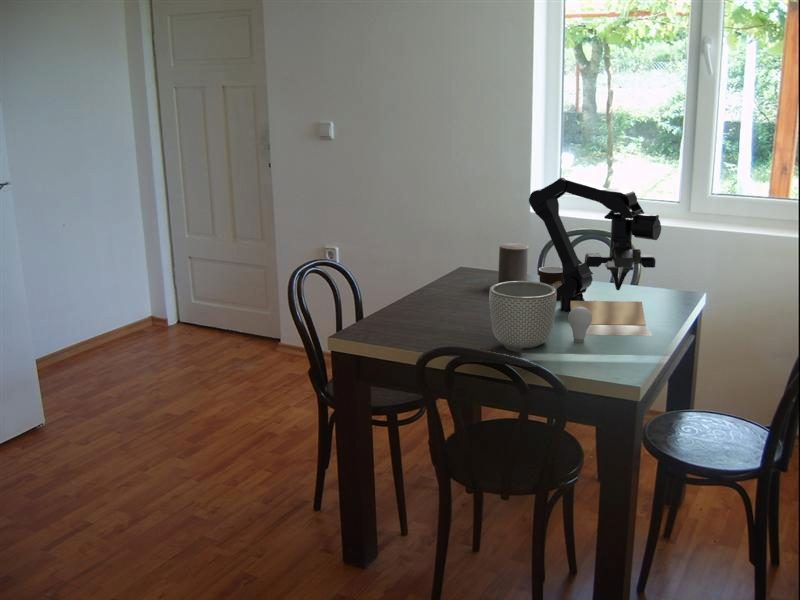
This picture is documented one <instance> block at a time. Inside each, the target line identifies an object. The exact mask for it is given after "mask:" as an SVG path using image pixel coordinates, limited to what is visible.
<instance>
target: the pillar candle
mask: <svg viewBox="0 0 800 600" xmlns="http://www.w3.org/2000/svg"><path fill="white" fill-rule="evenodd" d="M498 253H499V254H498V277H497V279H498V283H502V282H508V281H528V267H529V266H528V265H529V245H526V244H522V243H515V242H514V241H513V242H512V243H502V244H500V245H499V252H498ZM498 283H497V284H498Z"/></svg>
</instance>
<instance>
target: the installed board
mask: <svg viewBox="0 0 800 600" xmlns="http://www.w3.org/2000/svg"><path fill="white" fill-rule="evenodd" d="M585 336H631V337H632V336H636V337H643V336H644V337H651V336H653V334H652V333H651V331H650V329H649V328H648V326H647V325H590V326H589V327H588V329H587V331H586V335H585Z"/></svg>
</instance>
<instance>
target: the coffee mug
mask: <svg viewBox="0 0 800 600" xmlns="http://www.w3.org/2000/svg"><path fill="white" fill-rule="evenodd" d="M562 270H563V266H543V267H541V266H540V267H539V268H538V277H539V282H540V283H545V284H548V285H551V286H553V287H554V288H555V289H557V288H558V287H559V286H561V285H562V284H563V283H564V280H563V276H562ZM556 293H557V290H556ZM556 302H560V296H558V294H557V297H556Z"/></svg>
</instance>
